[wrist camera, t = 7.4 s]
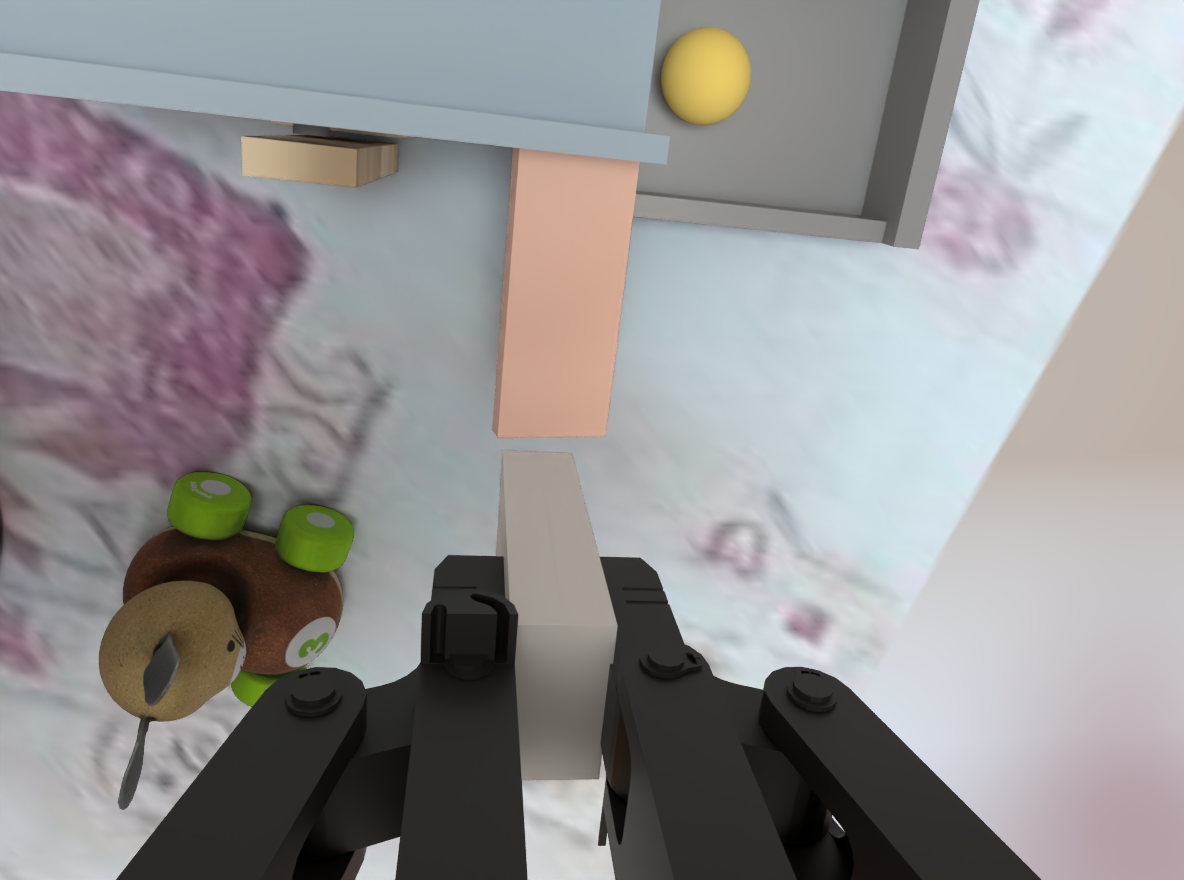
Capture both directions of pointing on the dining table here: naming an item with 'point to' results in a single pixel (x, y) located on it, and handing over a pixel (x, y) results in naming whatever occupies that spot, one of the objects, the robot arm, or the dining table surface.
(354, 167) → the fulcrum
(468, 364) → the dining table surface
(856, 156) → the tray
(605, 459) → the dining table surface
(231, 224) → the dining table surface
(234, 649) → the toy car
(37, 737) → the dining table surface
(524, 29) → the lever
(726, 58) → the ball
